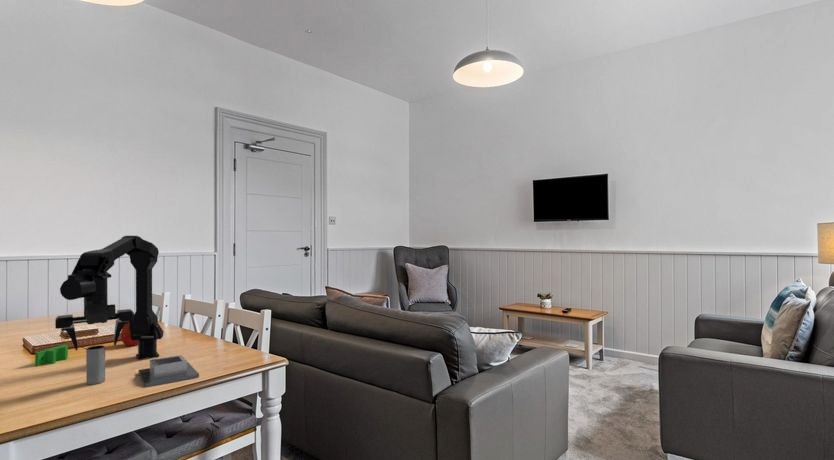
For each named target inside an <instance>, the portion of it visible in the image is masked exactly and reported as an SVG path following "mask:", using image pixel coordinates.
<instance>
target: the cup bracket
mask: <svg viewBox="0 0 834 460" xmlns="http://www.w3.org/2000/svg"><path fill="white" fill-rule="evenodd" d="M138 375H139V376H140V378H141V381H142V382H143V384H144V387H146V388H149V387H154V386H161V385H164V384H165V385H166V384H170V383H174V382H180V381H186V380H190V379H195V378H200V373H199V372H198V371H197V370H196V369H195V368H194V367H193V366H192V365H191V364H190V362H188V361H187V359H185V357H184V356H182V354H179V355H178V354H177V355H173V356H166V357H161V358H160V357H159V358H154V359H153V358H151V359H149V367H148V368H143V369H138Z"/></svg>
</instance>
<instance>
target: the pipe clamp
mask: <svg viewBox="0 0 834 460" xmlns="http://www.w3.org/2000/svg"><path fill="white" fill-rule="evenodd" d="M68 357H69V344H66V343H65V344H62V345H59V346H56V347H51V348H47V349H44V350H42V351H37V352H35V353H34V363H35V364H34V366H35V367H40V366H44V365H46V364H47V365H49V364H51V365H54V364H56V362H59V361H66V360H68ZM43 364H44V365H43Z"/></svg>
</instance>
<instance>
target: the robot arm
mask: <svg viewBox="0 0 834 460" xmlns="http://www.w3.org/2000/svg"><path fill="white" fill-rule="evenodd" d="M159 252H160V251H159V249H158V247H157V246H156V245H155V244H154V243H153V242H150V241H148V240H146V239H143V238H142V237H141V236H138V235H124V236H122V237H121V238H120V239H118V240H116V241H114V242H112V243H110V244H109V245H107V246H104V247H103V248H101V249H93V250H89V251H85V252H82V253H81V254H80V257H79V258H78V260H77V262H76V264H75V266H74V267H73V270H72V272H71V274H68V275H67V279H66V280H64V281H63V282H62V283H61V286H60V288H59V290H60V291H59V292H60V294H61V296H62V297H63V298H64V299H65V300H68V301H73V300H77V299H82V298H83V316H82V315H81V316H73V314H64V315H57V316H56V317H55V321H54V322H55V325H54V326H55V329H61V332H66V333H67V334H68V336H69V338H70V339H71V341H72V345H73V347H74V349H75V351H78V345H79V344H78V340H77V334H76V329H75V324H83V323H84V324H85V323H86V324H87V325H94V324H100V323H101V324H105V323H108V321H113V320H115V325H114V326H115V328H114V335H113V346H116V345H117V343H118V340H119V337H120V336H121V331H122V328H123V327H124V325H125V324H128V323H129V331H130V335H131V340H138V345H137V354H135V357H136V359H137V360H143V359H144V360H145V359H152V358H157V357H160V354H159V353H158V350H157V349H158V345H157V344H158V343H157V342H158V341H157V340H161V339H162V338H163V337H164V333H165V332H164V330H163V328H162V327H161V326H160V324H159V320H158V316H157V314H156V313H155V312H154V310H153V268H154V267H155V266H156V265H157V263H158V256H159ZM124 255H128V256H129V261H130V264H131V265H132V267H133V269H134V270H135V312H134V311H133V310H132V309H130V308H129V309H128V308H127V309H126V308H125V309H118V310H117V309H116V304H115V303H114V304H113V303H112V304H108V303H109V302H108V301H109V300H108V298H109V297H108V279H109V278H112V274H111V273H109V270H110V269H111V268H112V267H114V266H115V261H116V260H118V259H119V258H121V257H123V256H124Z"/></svg>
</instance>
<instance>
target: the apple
mask: <svg viewBox="0 0 834 460" xmlns="http://www.w3.org/2000/svg"><path fill="white" fill-rule="evenodd" d="M120 339H121V342H122V343H123V344H124V346H127V347H134V346H138V340H131V335H130V331H129V323H128V324H125V325H124V327H123V328H122V330H121V332H120Z"/></svg>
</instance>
